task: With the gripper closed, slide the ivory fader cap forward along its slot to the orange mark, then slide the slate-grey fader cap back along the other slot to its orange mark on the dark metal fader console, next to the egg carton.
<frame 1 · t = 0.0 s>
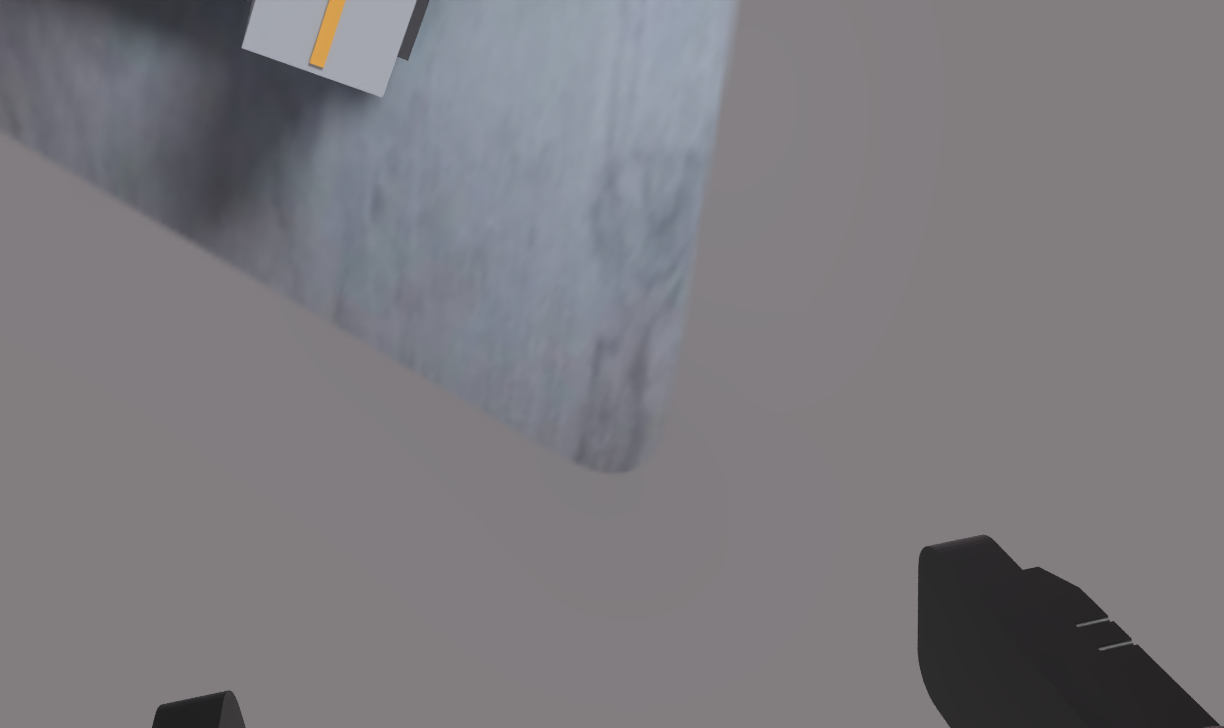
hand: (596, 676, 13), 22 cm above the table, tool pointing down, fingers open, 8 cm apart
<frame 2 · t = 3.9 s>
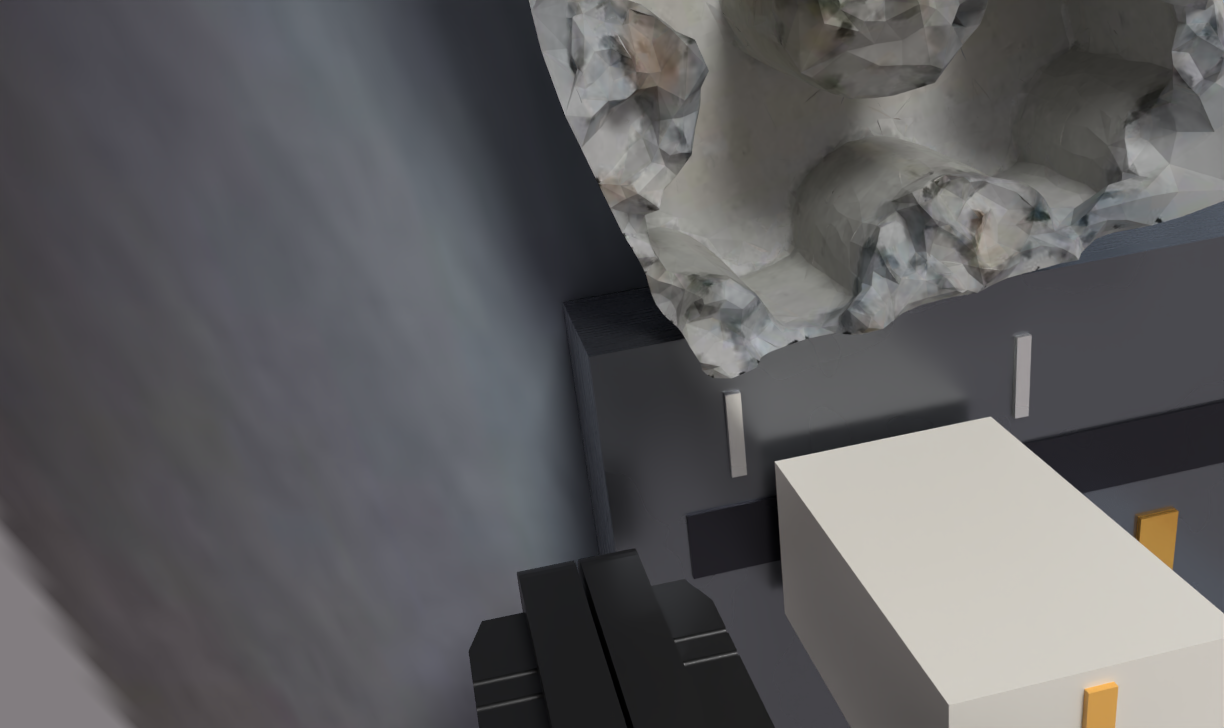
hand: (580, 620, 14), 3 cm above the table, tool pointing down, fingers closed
ivory fader cap: (973, 622, 13), point 5 cm above the table, slide at 1.2 cm, touching gripper
fader console: (949, 510, 18), on the table
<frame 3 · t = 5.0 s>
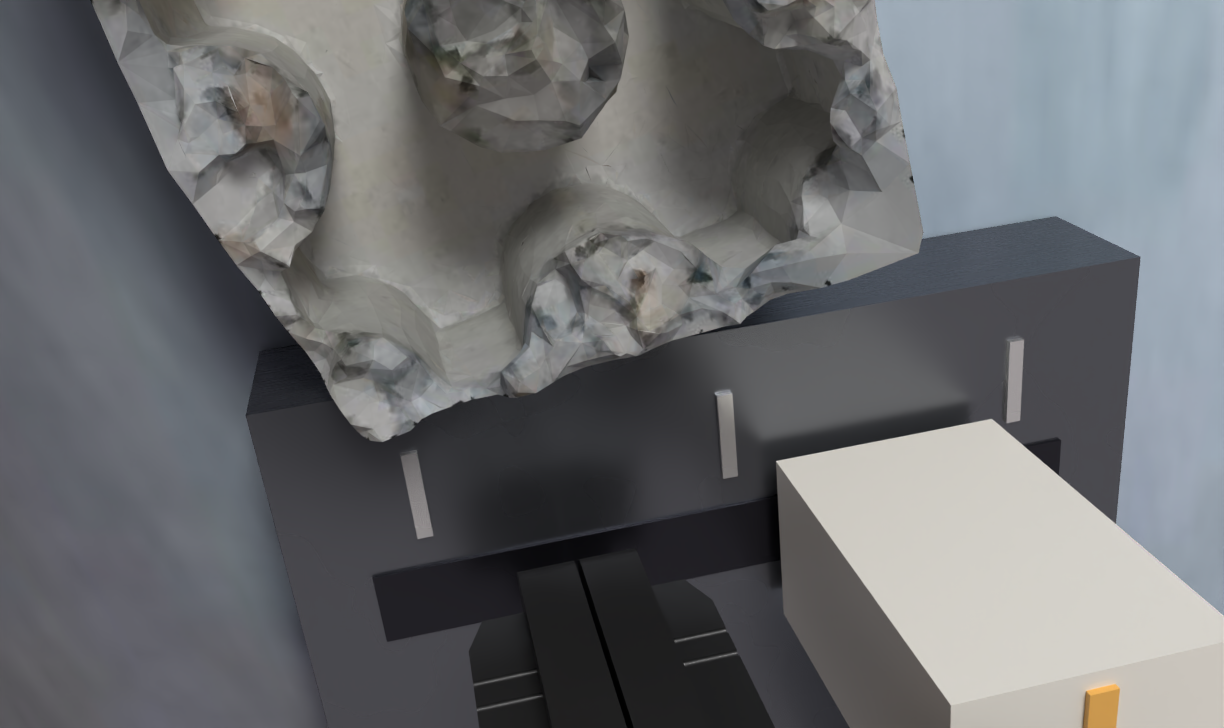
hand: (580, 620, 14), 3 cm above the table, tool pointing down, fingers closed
ivory fader cap: (973, 624, 13), point 5 cm above the table, slide at 5.3 cm, touching gripper
fader console: (702, 563, 18), on the table
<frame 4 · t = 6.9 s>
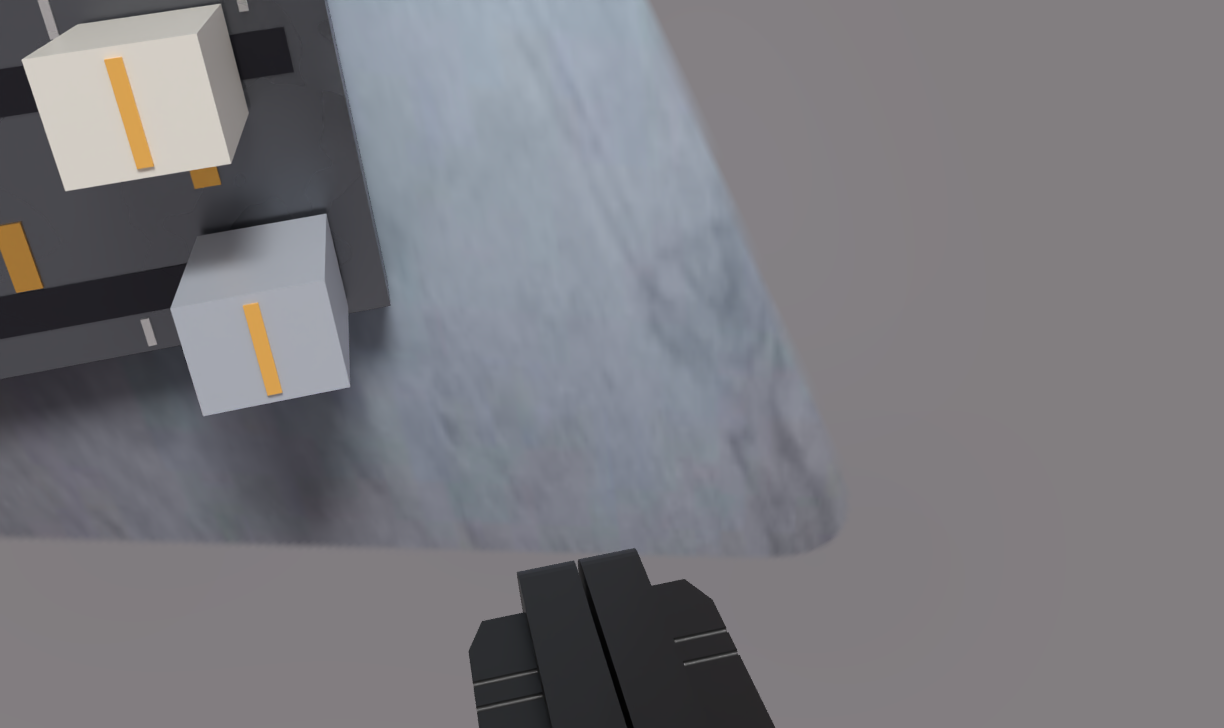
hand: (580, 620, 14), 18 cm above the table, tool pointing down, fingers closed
ivory fader cap: (149, 90, 23), point 5 cm above the table, slide at 5.3 cm
slate fader cap: (269, 307, 25), point 5 cm above the table, slide at 0.0 cm
fader console: (110, 140, 27), on the table
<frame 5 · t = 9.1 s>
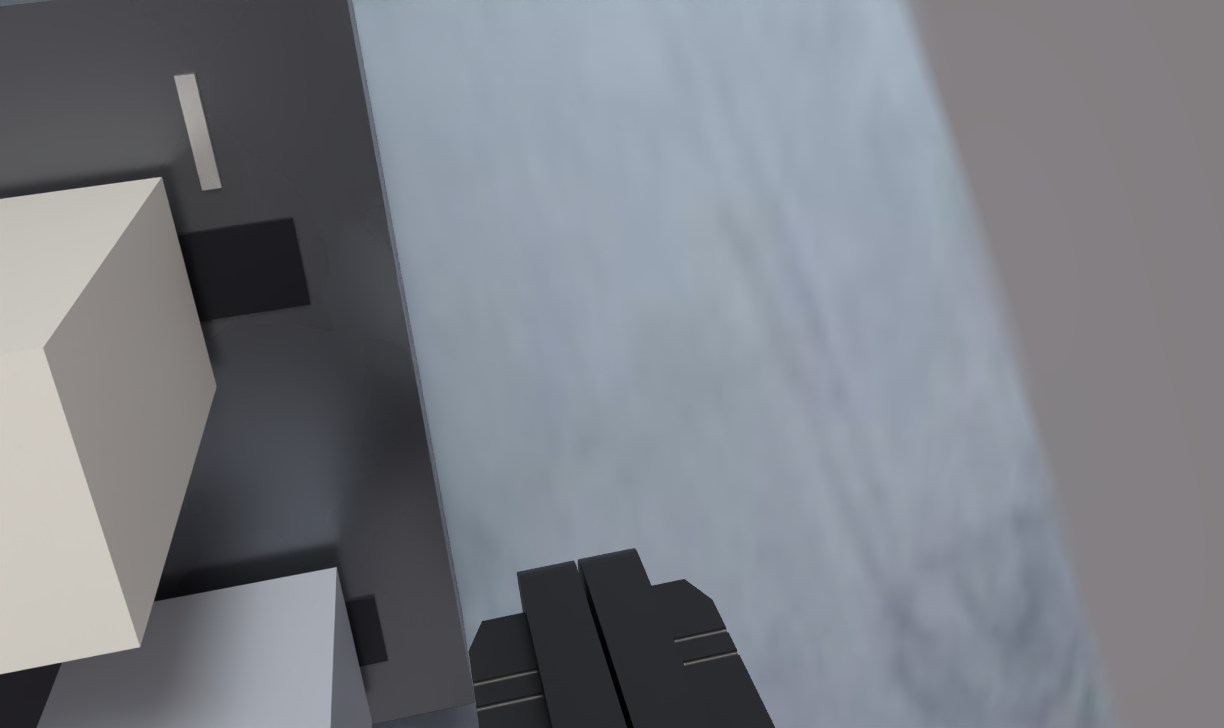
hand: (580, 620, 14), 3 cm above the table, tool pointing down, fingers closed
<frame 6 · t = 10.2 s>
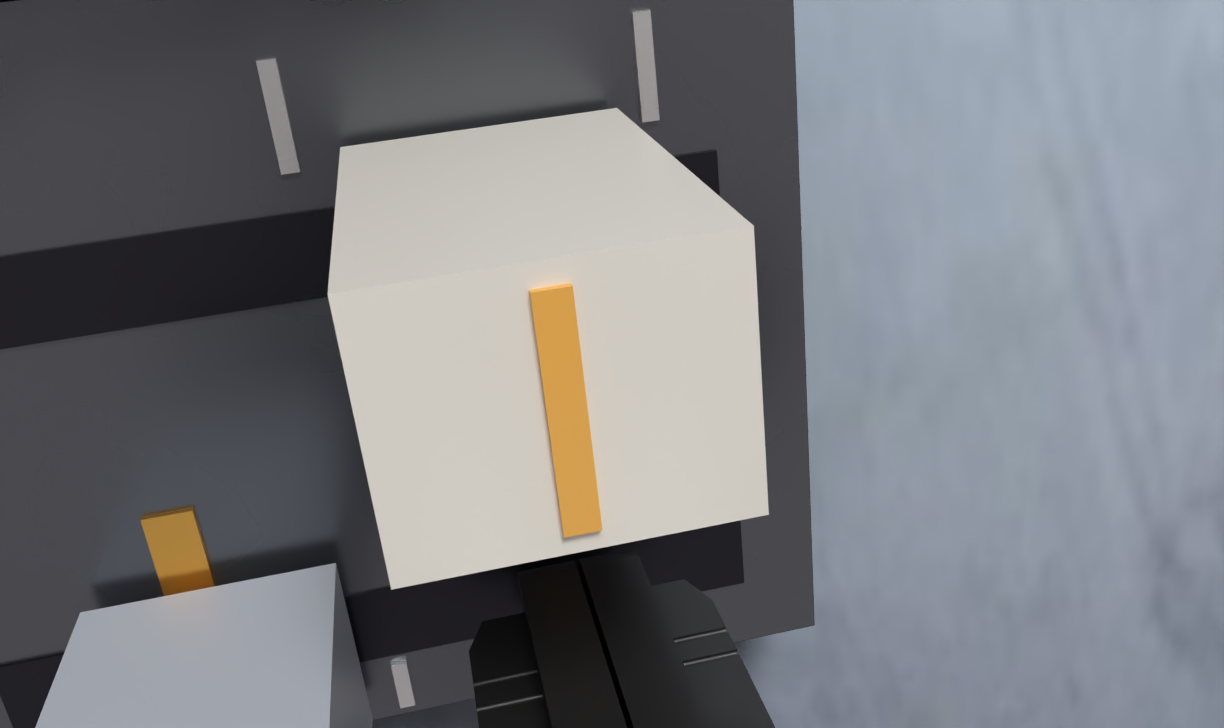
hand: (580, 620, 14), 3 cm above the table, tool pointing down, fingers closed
ivory fader cap: (524, 306, 10), point 5 cm above the table, slide at 5.3 cm
fader console: (342, 335, 15), on the table
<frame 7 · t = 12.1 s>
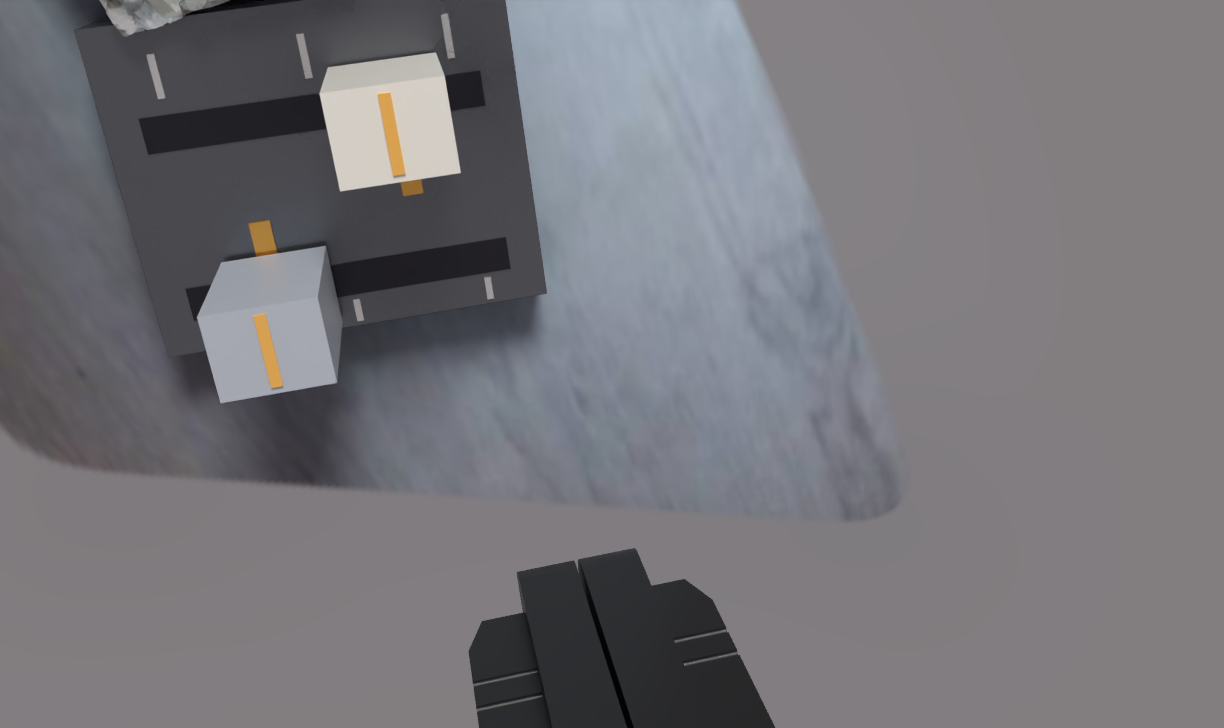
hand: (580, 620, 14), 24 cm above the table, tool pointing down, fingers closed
ivory fader cap: (391, 117, 30), point 5 cm above the table, slide at 5.3 cm
slate fader cap: (276, 320, 31), point 5 cm above the table, slide at 5.3 cm
fader console: (332, 158, 35), on the table
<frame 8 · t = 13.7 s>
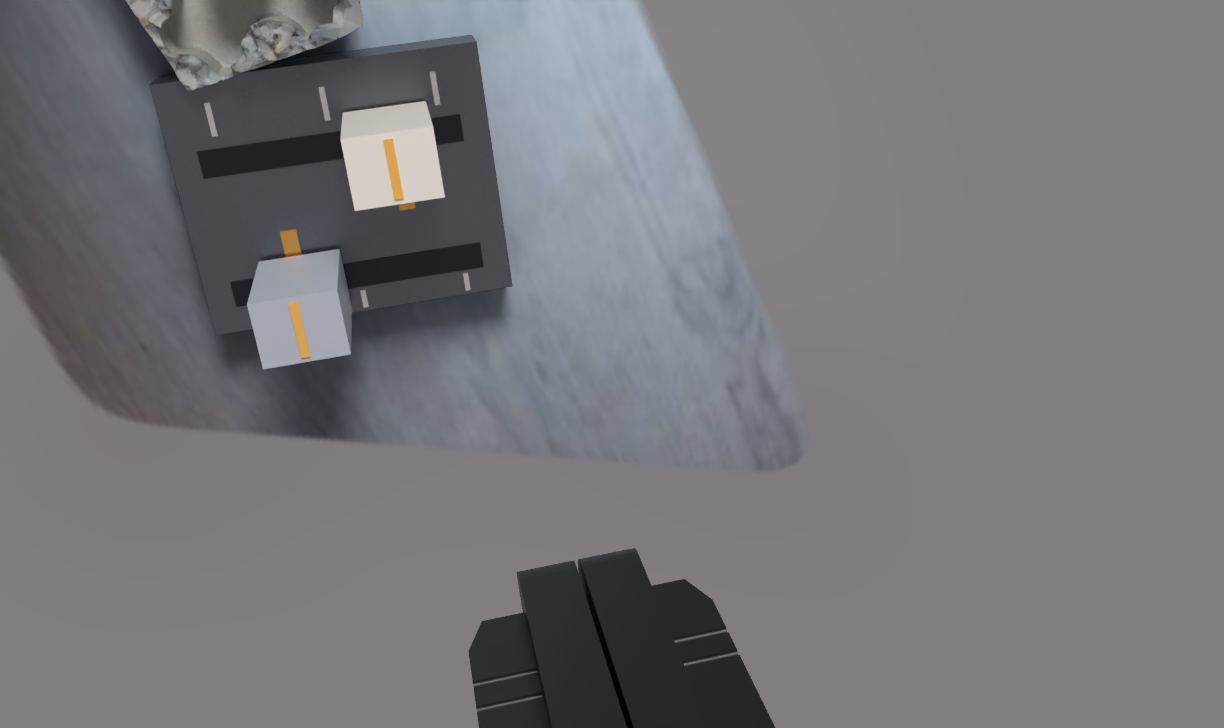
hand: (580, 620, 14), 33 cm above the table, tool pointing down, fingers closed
ivory fader cap: (391, 153, 39), point 5 cm above the table, slide at 5.3 cm
slate fader cap: (303, 306, 41), point 5 cm above the table, slide at 5.3 cm
fader console: (343, 179, 44), on the table
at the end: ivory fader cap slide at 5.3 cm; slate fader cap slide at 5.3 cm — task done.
